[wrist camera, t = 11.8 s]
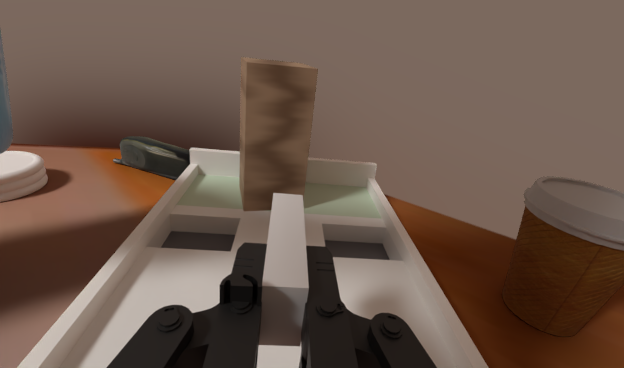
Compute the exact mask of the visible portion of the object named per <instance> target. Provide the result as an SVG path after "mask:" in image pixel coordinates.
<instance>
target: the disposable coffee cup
mask: <svg viewBox="0 0 624 368" xmlns="http://www.w3.org/2000/svg"><path fill="white" fill-rule="evenodd" d="M524 198H525V201H524V203H525V210H524V214H523V217H522V221H521V225H520V228H519V232H518V236H517V239H516V244H515V247H514V251H513V255H512V258H511V262H510V266H509V270H508V273H507V277H506V281H505V284H504V288H503V291H502V298H503V300H504V302H505V304H506V305H507V307H508V308H509V309H510V310H511V311H512V312H513V313H514V314H515V315H516V316H518V317H519V318H520V319H522V320H523V321H525V322H526V323H528V324H529V325H531V326H533V327H535V328H537V329H539V330H541V331H544V332H546V333H549V334H552V335H556V336H563V337H566V336H573V335H575V334H576V333H577V332H578V331H579V330H580V329H581V328H582V327H583V326H584V325H585V324H586V323H587V322H588V321H589V320H590V319H591V318H592V316H593V315H594V314H595V313H596V312H597V311H598V310H599V309H600V308H601V307H602V306H603V305H604V304H605V303H606V302H607V301H608V300H609V299H610V298H611V297H612V296H613V295H614V294H615V293H616V291H617V290H618V289H619V288H620V287H621V286H622V285H623V284H624V193H623V192H620V191H617V190H614V189H610V188H608V187H604V186H601V185H597V184H593V183H589V182H585V181H581V180H575V179H569V178H563V177H541V178H539V179H537V180H536V181H535V183H534V184H533V185H532V187H531V188H528V189H526V190H525V193H524Z"/></svg>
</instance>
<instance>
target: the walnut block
mask: <svg viewBox="0 0 624 368" xmlns="http://www.w3.org/2000/svg"><path fill="white" fill-rule="evenodd" d="M317 74H318V69H316V68H313V67H310V66H308V65H305V64H302V63H293V62H283V61H274V60H264V59H254V58H243V57H242V58H241V108H240V110H241V111H240V112H241V113H240V173H239V187H240V193H241V199H242V205H243V211H266V210H271V208H272V200H273V193H283V194H295V195H303V201H304V192H305V183H306V174H307V165H308V156H309V146H310V137H311V128H312V119H313V109H314V101H315V92H316V83H317V82H316V81H317Z"/></svg>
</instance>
